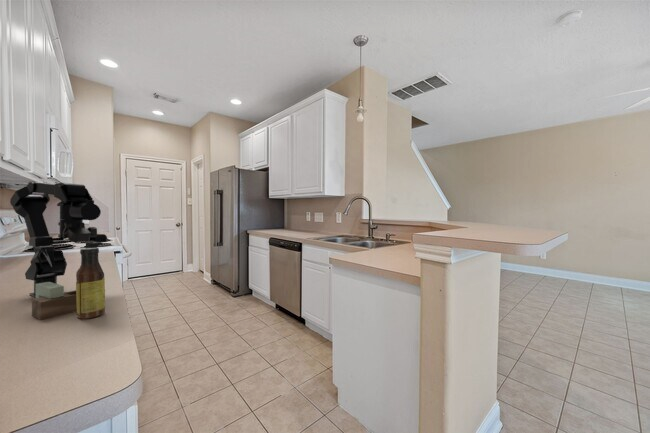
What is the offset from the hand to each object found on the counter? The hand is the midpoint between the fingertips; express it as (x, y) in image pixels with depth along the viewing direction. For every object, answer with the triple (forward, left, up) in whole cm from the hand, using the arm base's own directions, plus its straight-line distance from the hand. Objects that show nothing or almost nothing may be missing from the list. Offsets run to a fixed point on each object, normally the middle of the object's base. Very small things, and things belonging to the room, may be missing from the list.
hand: (70, 264), depth 90 cm
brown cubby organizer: (+13, -6, -12) cm, 19 cm away
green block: (+9, -8, -12) cm, 17 cm away
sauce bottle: (+24, -4, -12) cm, 27 cm away
